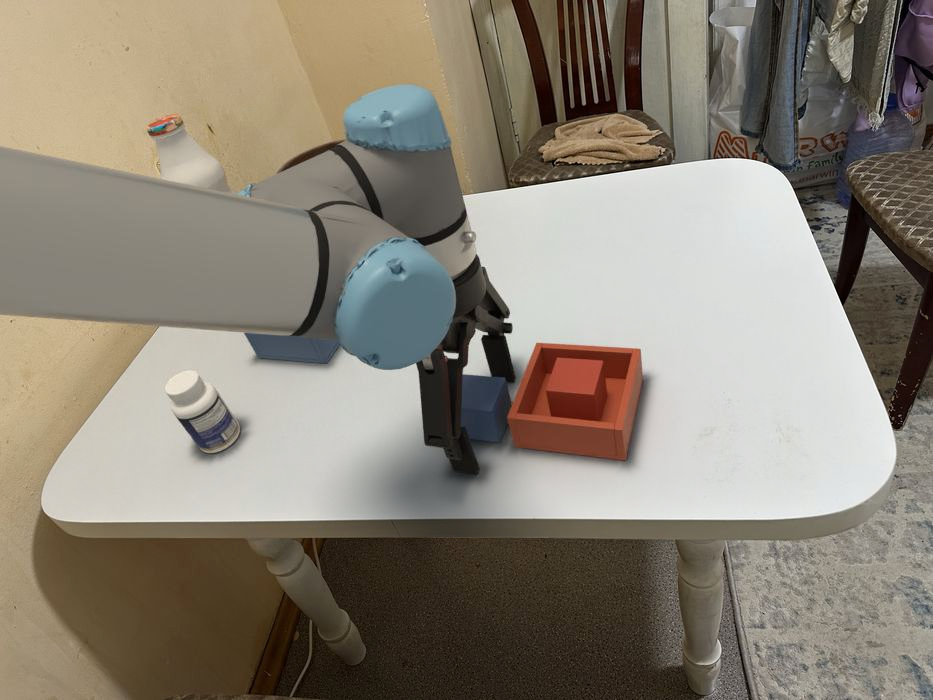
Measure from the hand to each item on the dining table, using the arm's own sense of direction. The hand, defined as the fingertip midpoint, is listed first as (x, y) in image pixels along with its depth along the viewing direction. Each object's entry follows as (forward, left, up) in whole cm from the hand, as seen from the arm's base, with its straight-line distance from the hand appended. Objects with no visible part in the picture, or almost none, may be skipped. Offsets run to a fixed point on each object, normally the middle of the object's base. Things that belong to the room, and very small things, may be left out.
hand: (486, 421), depth 73 cm
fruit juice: (-50, +24, 0) cm, 56 cm away
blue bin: (-31, +13, 0) cm, 34 cm away
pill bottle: (-33, -7, 0) cm, 34 cm away
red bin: (+10, +3, 0) cm, 10 cm away
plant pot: (-33, +33, 0) cm, 47 cm away
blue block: (0, 0, 0) cm, 0 cm away
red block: (+10, +3, 0) cm, 10 cm away
